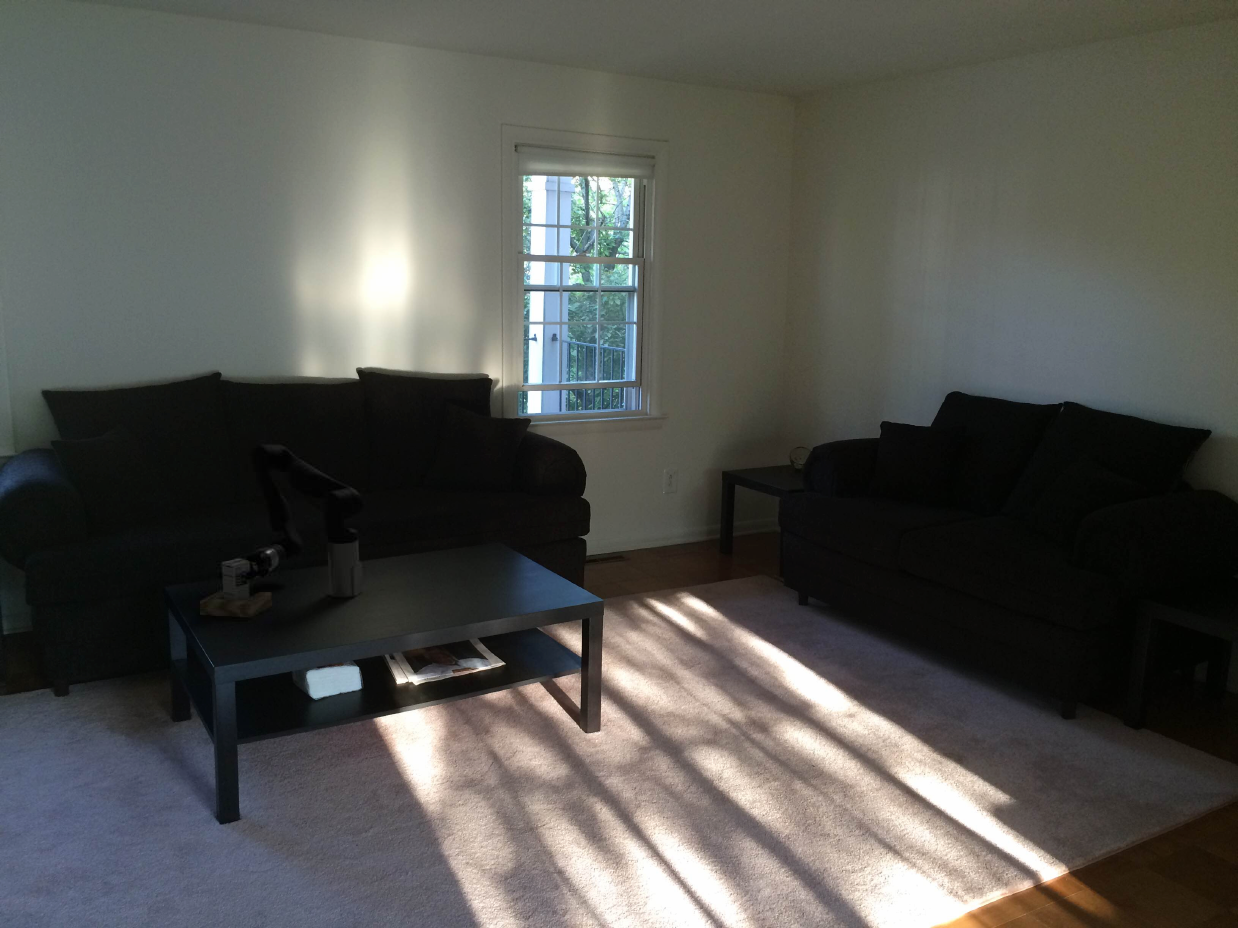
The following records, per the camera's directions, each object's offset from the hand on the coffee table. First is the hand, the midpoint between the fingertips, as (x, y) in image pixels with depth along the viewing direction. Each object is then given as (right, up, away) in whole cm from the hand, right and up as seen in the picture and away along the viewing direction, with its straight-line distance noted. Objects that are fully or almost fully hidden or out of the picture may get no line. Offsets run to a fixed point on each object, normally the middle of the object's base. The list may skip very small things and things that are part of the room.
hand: (233, 576), depth 291 cm
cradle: (0, -10, +2) cm, 10 cm away
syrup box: (0, -10, +4) cm, 11 cm away
